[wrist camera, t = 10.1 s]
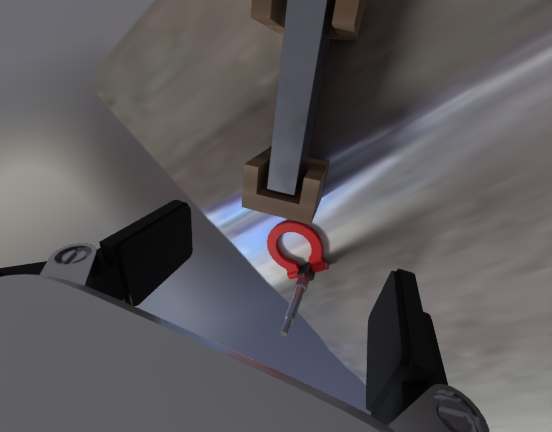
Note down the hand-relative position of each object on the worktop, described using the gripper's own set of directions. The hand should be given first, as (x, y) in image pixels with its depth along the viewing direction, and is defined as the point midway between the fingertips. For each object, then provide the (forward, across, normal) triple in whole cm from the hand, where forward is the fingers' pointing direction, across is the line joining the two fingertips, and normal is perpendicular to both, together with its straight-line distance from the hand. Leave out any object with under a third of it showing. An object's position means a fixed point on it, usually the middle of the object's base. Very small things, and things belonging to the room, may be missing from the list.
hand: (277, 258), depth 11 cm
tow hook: (+22, +2, +15) cm, 27 cm away
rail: (+20, +4, -5) cm, 21 cm away
